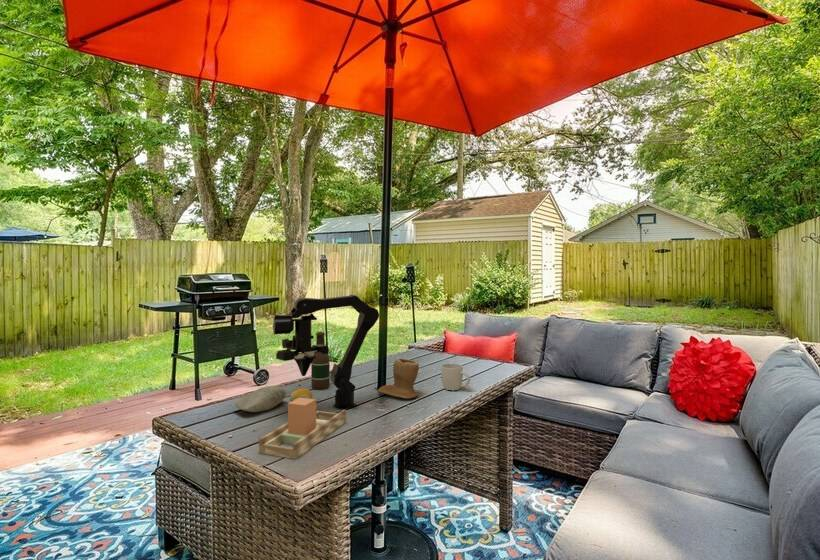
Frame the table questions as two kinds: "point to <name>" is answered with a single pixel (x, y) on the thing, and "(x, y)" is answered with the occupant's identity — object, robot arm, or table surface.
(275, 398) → the rock
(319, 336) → the beer bottle
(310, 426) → the terracotta block
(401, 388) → the brown boot
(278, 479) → the table surface
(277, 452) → the wooden compartment tray
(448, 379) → the mug
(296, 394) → the bread roll
